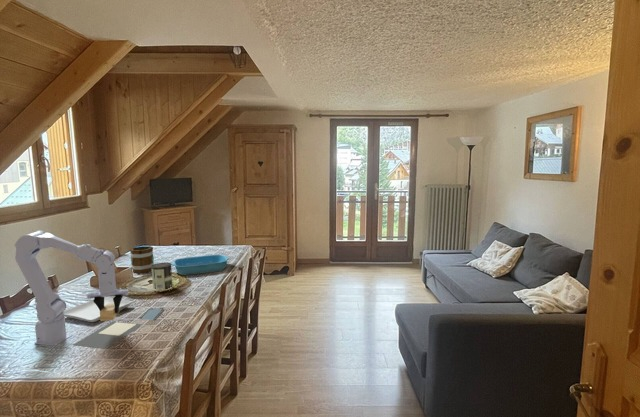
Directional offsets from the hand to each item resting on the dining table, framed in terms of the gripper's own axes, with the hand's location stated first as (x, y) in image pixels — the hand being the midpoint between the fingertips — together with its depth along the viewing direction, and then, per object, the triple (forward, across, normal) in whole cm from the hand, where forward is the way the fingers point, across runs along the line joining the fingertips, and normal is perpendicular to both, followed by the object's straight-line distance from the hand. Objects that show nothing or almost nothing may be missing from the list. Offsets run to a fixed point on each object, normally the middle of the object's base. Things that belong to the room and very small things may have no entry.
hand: (110, 313), depth 139 cm
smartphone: (+10, +12, +14) cm, 20 cm away
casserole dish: (+10, +28, +82) cm, 87 cm away
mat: (+9, -1, -1) cm, 9 cm away
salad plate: (+10, -13, +24) cm, 29 cm away
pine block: (+1, 0, 0) cm, 1 cm away
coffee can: (+9, +11, +49) cm, 51 cm away
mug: (+9, -9, +93) cm, 93 cm away
